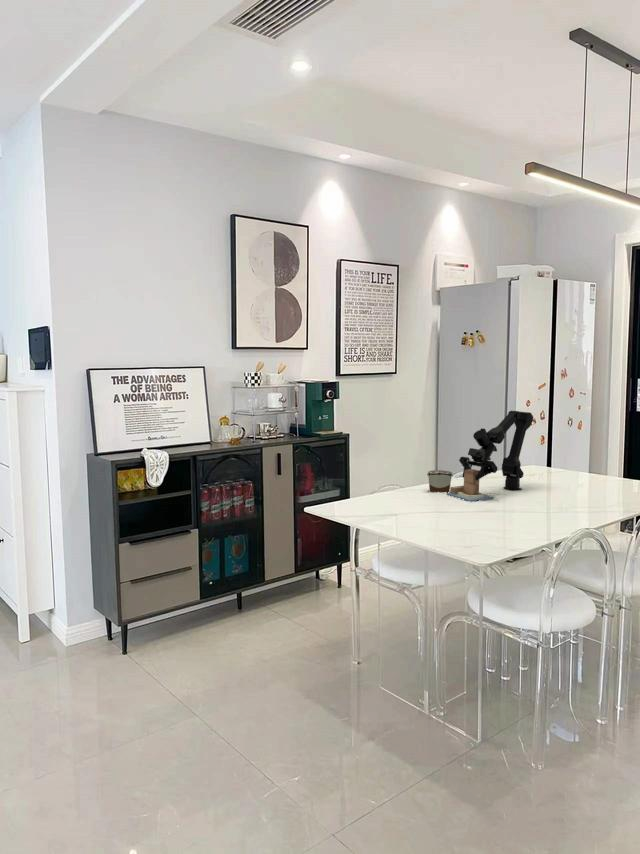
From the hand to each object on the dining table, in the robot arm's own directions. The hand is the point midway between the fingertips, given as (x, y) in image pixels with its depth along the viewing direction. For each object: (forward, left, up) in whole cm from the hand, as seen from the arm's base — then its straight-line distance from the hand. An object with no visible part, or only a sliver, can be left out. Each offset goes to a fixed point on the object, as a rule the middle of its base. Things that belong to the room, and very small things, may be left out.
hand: (469, 478), depth 318 cm
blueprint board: (-2, -2, -9) cm, 10 cm away
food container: (+3, -19, -10) cm, 22 cm away
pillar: (-1, 0, -8) cm, 8 cm away
